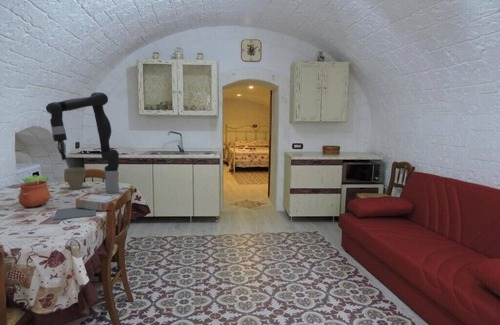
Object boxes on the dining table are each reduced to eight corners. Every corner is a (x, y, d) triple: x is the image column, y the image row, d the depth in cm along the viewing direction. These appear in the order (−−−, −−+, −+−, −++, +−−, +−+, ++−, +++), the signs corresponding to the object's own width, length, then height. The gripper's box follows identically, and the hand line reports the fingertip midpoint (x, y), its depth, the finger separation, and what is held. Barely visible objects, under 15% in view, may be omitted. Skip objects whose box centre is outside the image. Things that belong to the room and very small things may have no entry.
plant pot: (61, 189, 259) (60, 169, 257) (79, 185, 272) (78, 166, 269) (72, 191, 251) (70, 171, 249) (90, 188, 264) (89, 168, 262)
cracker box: (75, 207, 204) (105, 211, 200) (75, 198, 203) (105, 202, 199) (90, 202, 218) (118, 206, 214) (90, 193, 217) (118, 197, 213)
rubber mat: (57, 210, 203) (57, 209, 203) (96, 206, 212) (96, 205, 212) (52, 220, 183) (52, 219, 183) (96, 215, 192) (95, 214, 192)
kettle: (21, 191, 250) (20, 177, 248) (29, 187, 263) (27, 174, 262) (43, 190, 254) (42, 176, 252) (49, 186, 267) (48, 173, 265)
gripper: (63, 133, 208) (68, 159, 210) (67, 132, 220) (72, 157, 223) (50, 134, 205) (55, 161, 208) (54, 134, 218) (60, 159, 220)
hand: (64, 159), depth 215 cm, fingers closed
